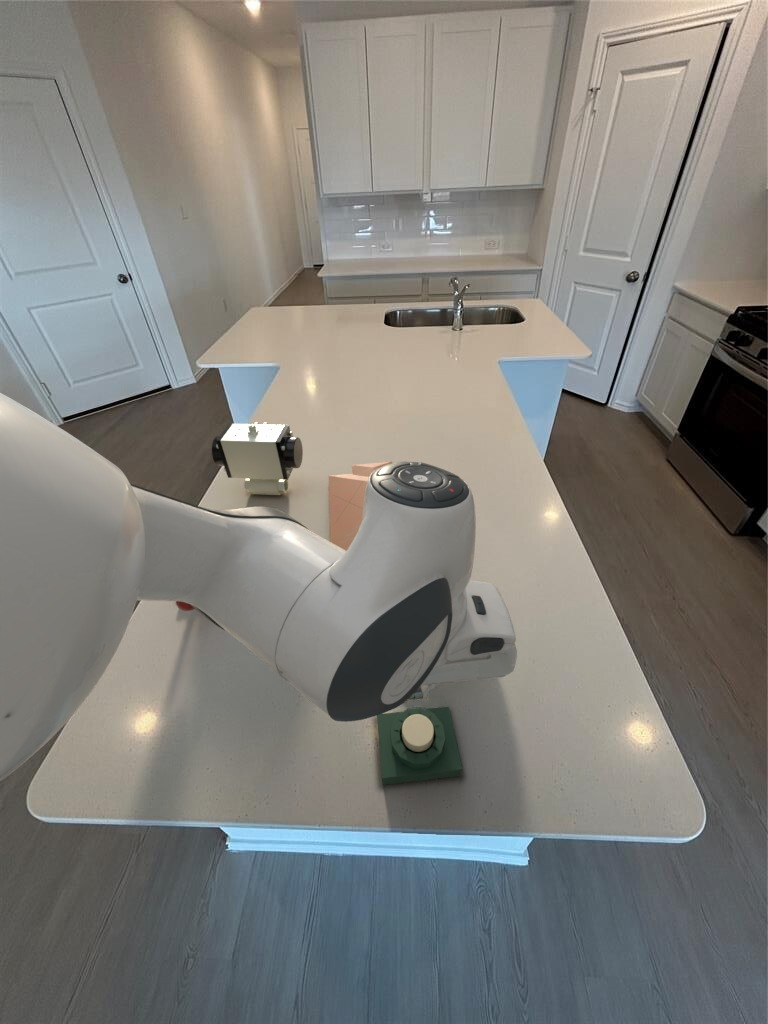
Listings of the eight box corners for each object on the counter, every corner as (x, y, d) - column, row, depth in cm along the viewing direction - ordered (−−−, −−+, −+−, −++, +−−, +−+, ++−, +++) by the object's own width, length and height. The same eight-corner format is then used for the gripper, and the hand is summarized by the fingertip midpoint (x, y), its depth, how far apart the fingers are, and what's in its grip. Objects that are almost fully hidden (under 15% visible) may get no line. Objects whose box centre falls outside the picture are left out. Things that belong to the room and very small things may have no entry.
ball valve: (310, 481, 106) (299, 415, 94) (302, 503, 99) (288, 435, 88) (239, 479, 108) (219, 413, 96) (226, 500, 101) (203, 433, 90)
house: (423, 471, 107) (424, 442, 102) (454, 571, 82) (458, 540, 77) (329, 480, 106) (325, 451, 101) (332, 584, 81) (327, 553, 76)
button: (430, 718, 58) (430, 712, 57) (435, 750, 55) (436, 744, 54) (400, 721, 58) (400, 715, 57) (404, 753, 55) (404, 748, 54)
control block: (447, 713, 62) (449, 700, 59) (460, 776, 56) (463, 763, 53) (377, 721, 61) (376, 707, 59) (382, 785, 55) (381, 773, 53)
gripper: (300, 659, 37) (319, 732, 46) (534, 637, 39) (509, 712, 47) (303, 601, 42) (320, 677, 51) (511, 582, 43) (493, 660, 52)
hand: (413, 694), depth 49 cm, fingers closed
